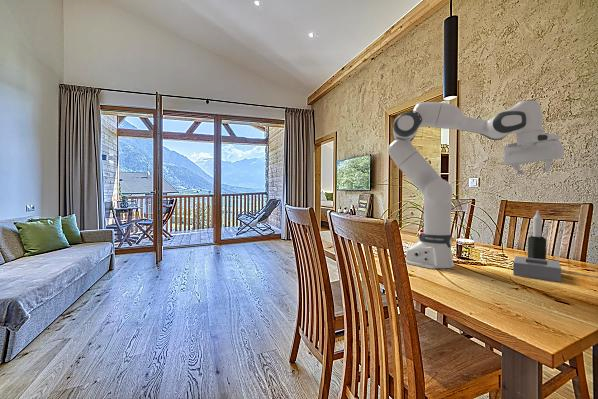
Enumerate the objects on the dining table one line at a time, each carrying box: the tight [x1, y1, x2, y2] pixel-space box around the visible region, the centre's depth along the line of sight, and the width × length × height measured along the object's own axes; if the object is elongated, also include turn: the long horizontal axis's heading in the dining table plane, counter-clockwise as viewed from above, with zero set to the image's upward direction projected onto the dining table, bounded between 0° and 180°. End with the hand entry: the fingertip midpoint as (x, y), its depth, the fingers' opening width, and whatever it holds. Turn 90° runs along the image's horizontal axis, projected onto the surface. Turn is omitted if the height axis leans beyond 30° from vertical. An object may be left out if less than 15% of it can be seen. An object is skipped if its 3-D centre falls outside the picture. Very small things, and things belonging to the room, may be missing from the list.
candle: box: [527, 209, 547, 260], centre depth 124 cm, size 5×5×25 cm
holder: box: [512, 255, 562, 283], centre depth 114 cm, size 14×14×5 cm
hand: (532, 173), depth 117 cm, fingers open, 8 cm apart
